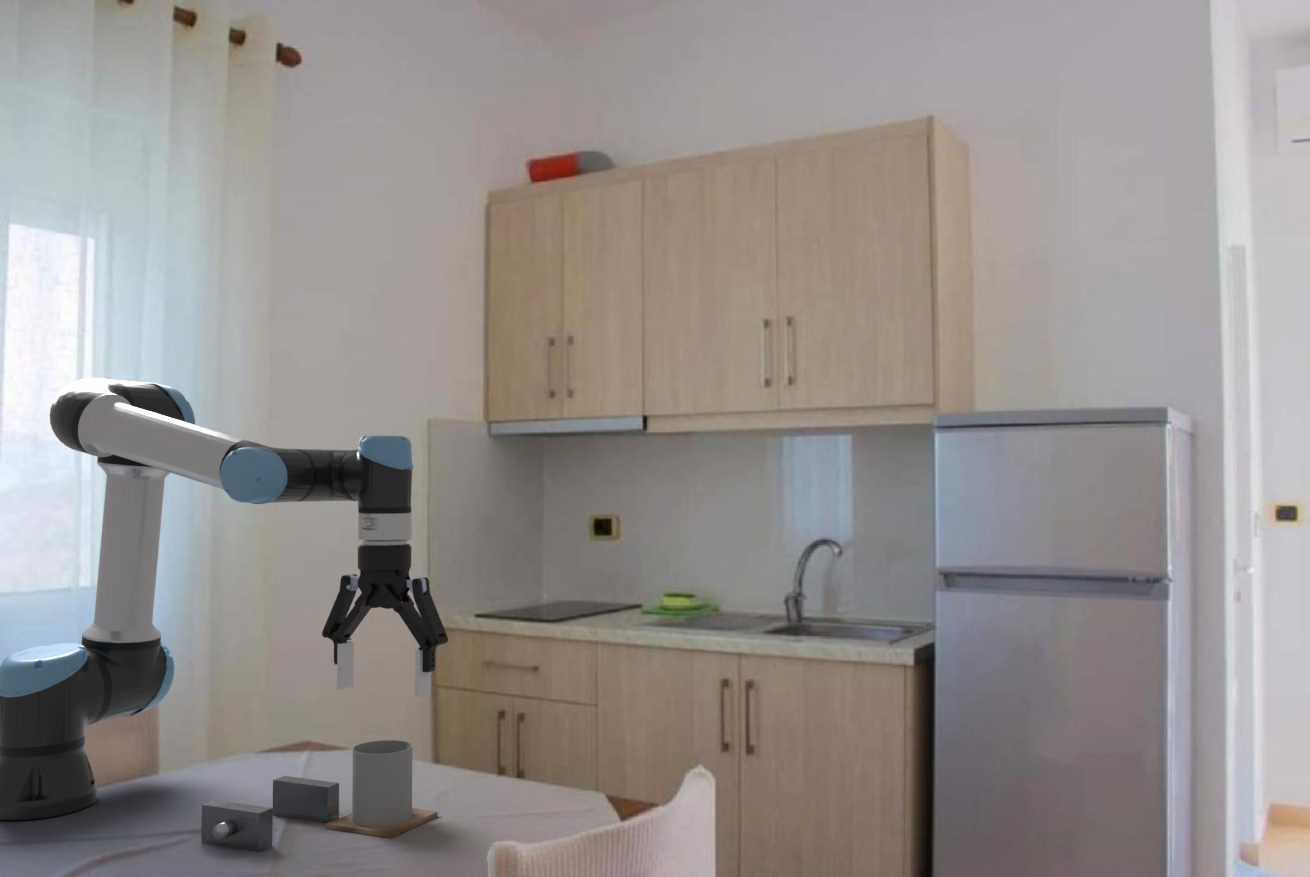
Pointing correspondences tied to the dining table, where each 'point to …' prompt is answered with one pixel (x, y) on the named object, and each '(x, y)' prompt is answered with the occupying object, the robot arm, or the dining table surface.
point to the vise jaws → (268, 813)
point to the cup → (382, 783)
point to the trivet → (385, 831)
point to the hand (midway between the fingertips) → (383, 691)
